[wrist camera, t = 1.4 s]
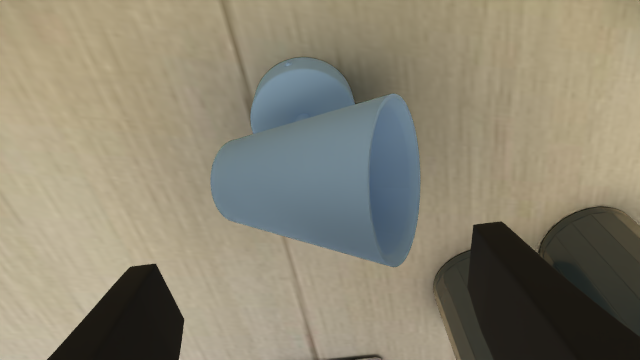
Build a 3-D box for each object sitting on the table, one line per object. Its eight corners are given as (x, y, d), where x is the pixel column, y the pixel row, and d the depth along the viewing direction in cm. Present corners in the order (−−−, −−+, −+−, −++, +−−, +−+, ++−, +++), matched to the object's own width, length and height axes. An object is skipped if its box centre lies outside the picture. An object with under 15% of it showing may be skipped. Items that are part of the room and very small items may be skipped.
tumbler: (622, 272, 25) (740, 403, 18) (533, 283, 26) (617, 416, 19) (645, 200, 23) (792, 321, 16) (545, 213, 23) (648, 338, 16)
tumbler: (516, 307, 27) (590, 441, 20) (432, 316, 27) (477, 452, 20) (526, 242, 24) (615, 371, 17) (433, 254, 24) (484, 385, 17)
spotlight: (377, 27, 18) (220, 73, 18) (446, 127, 9) (148, 204, 10) (398, 132, 20) (259, 169, 21) (468, 288, 12) (228, 340, 12)
